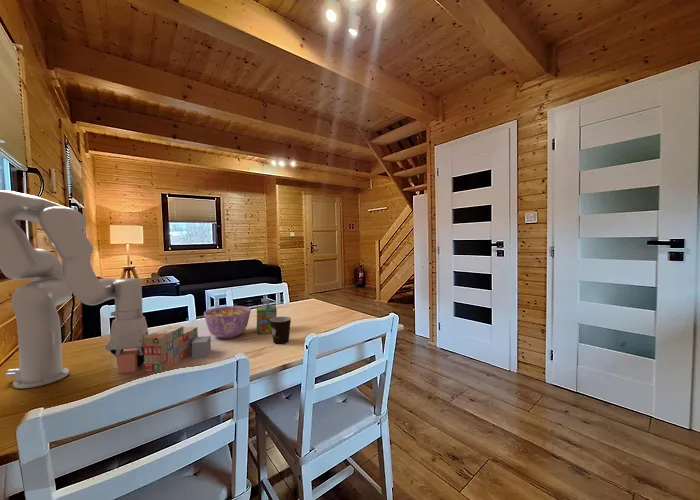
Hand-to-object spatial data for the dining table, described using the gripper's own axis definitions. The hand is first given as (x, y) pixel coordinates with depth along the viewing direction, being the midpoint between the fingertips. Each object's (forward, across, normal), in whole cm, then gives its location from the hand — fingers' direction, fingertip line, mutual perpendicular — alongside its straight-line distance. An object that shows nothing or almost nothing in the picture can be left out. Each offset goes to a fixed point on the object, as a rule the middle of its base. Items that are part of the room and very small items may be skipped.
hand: (131, 365), depth 105 cm
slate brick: (+1, +21, +7) cm, 22 cm away
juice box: (+1, +45, +30) cm, 54 cm away
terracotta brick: (+1, 0, 0) cm, 1 cm away
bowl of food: (+1, +28, +28) cm, 40 cm away
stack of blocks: (+1, +12, +4) cm, 13 cm away
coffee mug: (+1, +51, +14) cm, 53 cm away
